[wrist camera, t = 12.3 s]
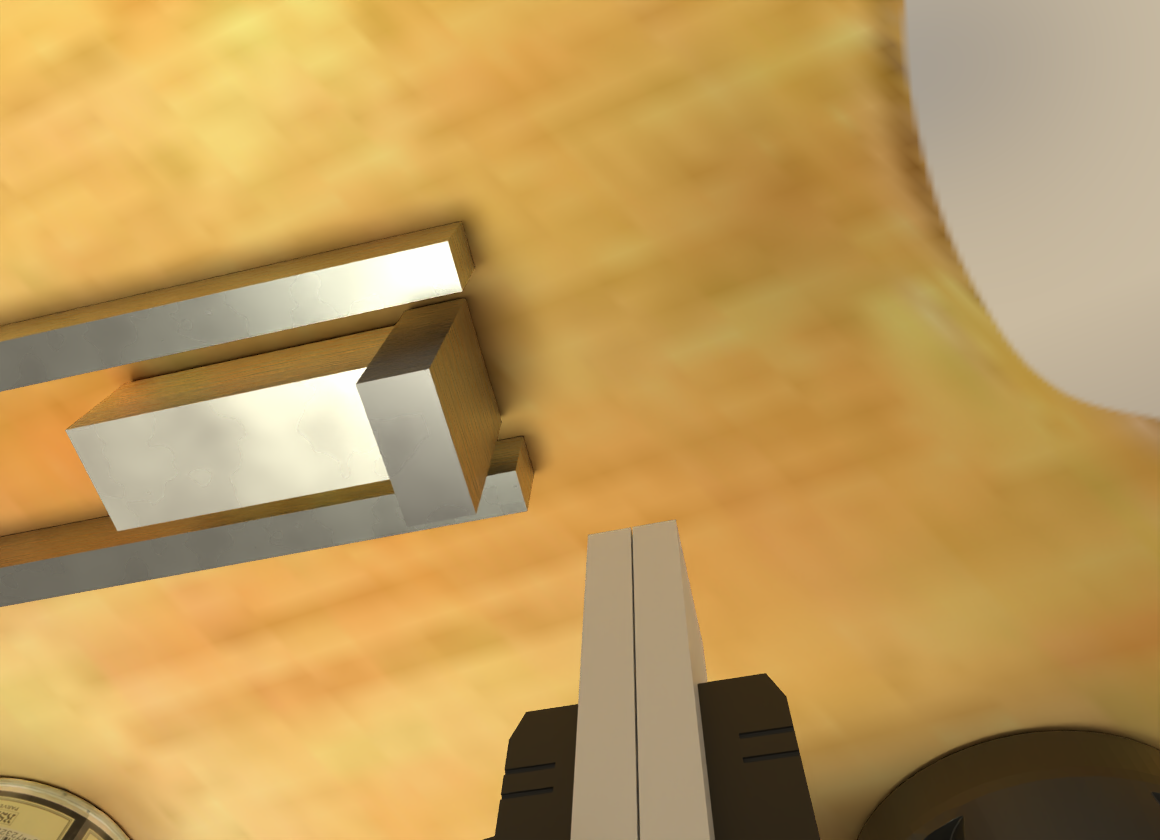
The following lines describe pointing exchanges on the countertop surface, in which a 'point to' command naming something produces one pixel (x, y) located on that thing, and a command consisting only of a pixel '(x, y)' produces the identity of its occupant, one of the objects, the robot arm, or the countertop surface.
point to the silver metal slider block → (303, 426)
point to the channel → (218, 317)
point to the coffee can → (50, 814)
